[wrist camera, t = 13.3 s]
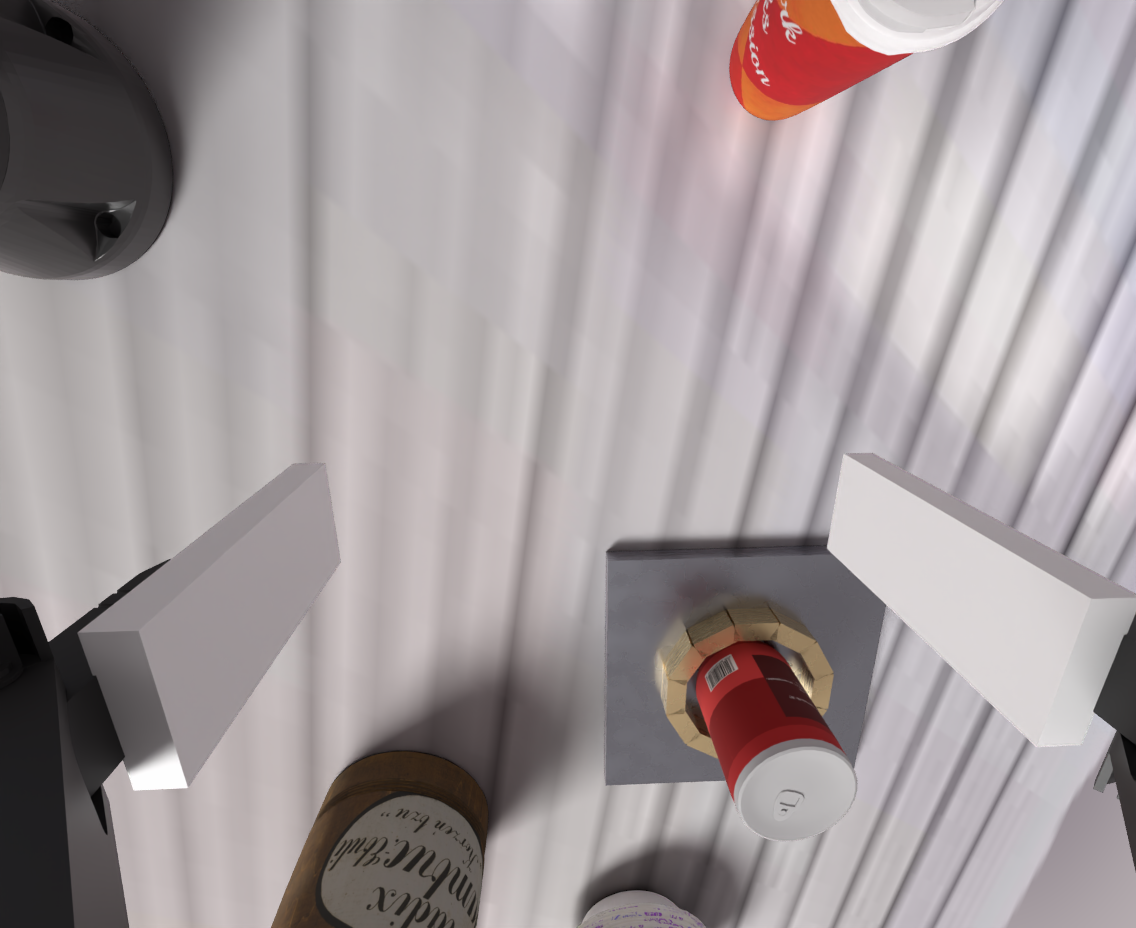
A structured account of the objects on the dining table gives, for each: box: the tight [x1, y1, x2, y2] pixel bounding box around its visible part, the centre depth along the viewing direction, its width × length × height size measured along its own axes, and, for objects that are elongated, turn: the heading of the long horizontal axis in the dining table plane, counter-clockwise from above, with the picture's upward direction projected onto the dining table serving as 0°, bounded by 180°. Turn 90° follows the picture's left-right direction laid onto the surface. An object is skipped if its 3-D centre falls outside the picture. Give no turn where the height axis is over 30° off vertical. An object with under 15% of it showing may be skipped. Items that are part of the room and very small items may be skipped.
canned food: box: [696, 641, 857, 841], centre depth 39 cm, size 8×8×11 cm
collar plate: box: [604, 546, 886, 785], centre depth 44 cm, size 22×22×4 cm
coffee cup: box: [729, 0, 1004, 120], centre depth 25 cm, size 8×8×15 cm
